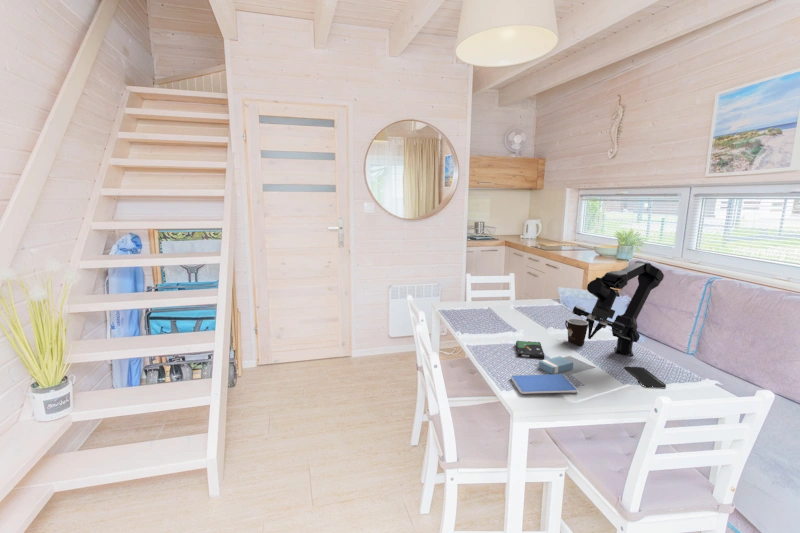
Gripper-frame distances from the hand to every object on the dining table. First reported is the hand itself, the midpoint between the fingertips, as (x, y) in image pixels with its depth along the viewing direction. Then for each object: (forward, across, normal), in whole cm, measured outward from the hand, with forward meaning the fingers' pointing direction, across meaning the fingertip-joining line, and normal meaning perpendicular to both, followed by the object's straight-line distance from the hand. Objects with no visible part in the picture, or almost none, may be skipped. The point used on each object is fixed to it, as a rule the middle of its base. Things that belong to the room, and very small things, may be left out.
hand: (589, 338), depth 153 cm
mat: (+14, -4, -4) cm, 15 cm away
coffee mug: (+2, -4, +25) cm, 26 cm away
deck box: (+12, -4, -4) cm, 13 cm away
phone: (+6, +21, 0) cm, 22 cm away
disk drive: (+15, -18, +6) cm, 24 cm away
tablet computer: (+23, -8, -22) cm, 33 cm away
